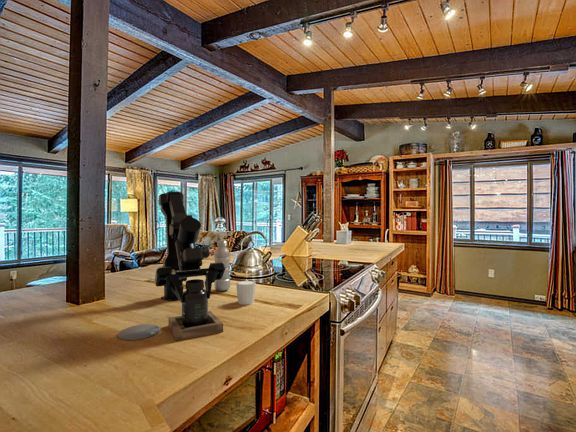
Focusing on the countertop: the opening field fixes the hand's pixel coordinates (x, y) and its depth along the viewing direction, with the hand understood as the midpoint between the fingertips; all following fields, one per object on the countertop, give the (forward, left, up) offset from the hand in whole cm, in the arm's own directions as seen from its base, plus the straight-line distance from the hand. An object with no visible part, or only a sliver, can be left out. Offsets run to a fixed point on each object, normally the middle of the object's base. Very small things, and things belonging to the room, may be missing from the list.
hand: (196, 299), depth 85 cm
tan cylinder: (-3, +28, -8) cm, 29 cm away
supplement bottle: (-1, +1, -7) cm, 7 cm away
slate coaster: (-12, -8, -8) cm, 17 cm away
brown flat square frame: (-1, +1, -8) cm, 8 cm away
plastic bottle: (-21, +37, -8) cm, 43 cm away
